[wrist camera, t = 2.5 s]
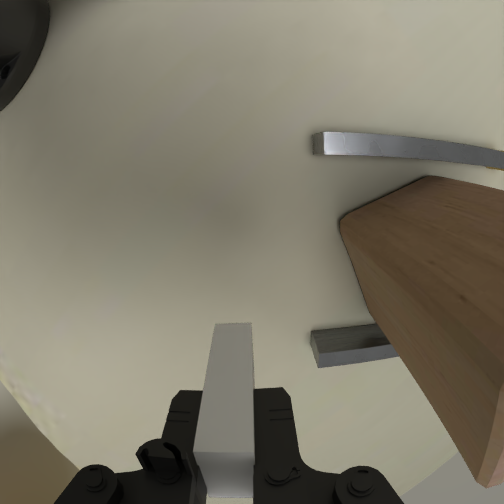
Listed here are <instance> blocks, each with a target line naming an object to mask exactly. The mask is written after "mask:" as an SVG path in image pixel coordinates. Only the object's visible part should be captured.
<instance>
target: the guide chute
mask: <svg viewBox="0 0 504 504" xmlns="http://www.w3.org/2000/svg"><path fill="white" fill-rule="evenodd" d="M312 136H313V154H322V155H367V156H388V157H403V158H417V159H428V160H439V161H448V162H457V163H466V164H473V165H481V166H486V168H491V169H497V170H503V171H504V151H499V150H492V149H487V148H482V147H477V146H471V145H465V144H459V143H453V142H446V141H439V140H431V139H423V138H415V137H405V136H394V135H382V134H368V133H349V132H321V133H317V134H314V135H312ZM311 347H312V350H313V354H314V357H315V360H316V363H317V366H318V368H323V367H332V366H340V365H347V364H355V363H362V362H368V361H375V360H381V359H387V358H392V357H398V356H399V355H398V353H397V352H396V350H395V349H394V347H393V346H392V344H391V343H390V341H389V340H388V339H387V337H386V336H385V334H384V333H383V331H382V330H381V328H380V327H379V326H378V324H372V325H364V326H356V327H347V328H337V329H327V330H317V331H311Z"/></svg>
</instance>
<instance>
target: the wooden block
mask: <svg viewBox="0 0 504 504" xmlns="http://www.w3.org/2000/svg"><path fill="white" fill-rule="evenodd" d="M340 233H341V235H342V238H343V240H344V243H345V245H346V248H347V251H348V253H349V256H350V259H351V261H352V264H353V267H354V269H355V272H356V275H357V278H358V281H359V283H360V286H361V289H362V292H363V295H364V298H365V301H366V304H367V307H368V310H369V313H370V314H371V316H372V317H373V319H374V320H375V321H376V323H377V324H378V326H379V327H380V328H381V330H382V331H383V333H384V334H385V336H386V337H387V339H388V340H389V341H390V343H391V344H392V346H393V347H394V349H395V350H396V352H397V353H398V355H399V356H400V358H401V359H402V361H403V362H404V364H405V365H406V367H407V368H408V370H409V371H410V373H411V374H412V376H413V377H414V379H415V380H416V382H417V383H418V385H419V386H420V388H421V390H422V391H423V393H424V394H425V396H426V397H427V399H428V401H429V402H430V404H431V405H432V407H433V409H434V410H435V412H436V413H437V415H438V417H439V418H440V420H441V422H442V423H443V425H444V426H445V428H446V430H447V431H448V433H449V435H450V436H451V438H452V440H453V442H454V443H455V445H456V447H457V448H458V450H459V452H460V453H461V455H462V457H463V458H464V461H465V462H466V464H467V466H468V468H469V469H470V471H471V473H472V475H473V477H474V479H475V480H476V482H477V483H479V484H481V485H482V486H484V487H485V488H489V487H492V486H495V485H498V484H501V483H502V482H504V191H503V190H499V189H495V188H491V187H487V186H482V185H478V184H473V183H469V182H464V181H459V180H455V179H449V178H444V177H439V176H427V177H425V178H422V179H420V180H418V181H416V182H414V183H412V184H410V185H408V186H406V187H404V188H401V189H399V190H397V191H395V192H393V193H391V194H389V195H387V196H385V197H383V198H380V199H378V200H376V201H374V202H372V203H370V204H368V205H366V206H364V207H361V208H359V209H357V210H355V211H353V212H351V213H349V214H347V215H346V216H345V217H344V218H343V219H342V220H340Z"/></svg>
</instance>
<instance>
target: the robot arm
mask: <svg viewBox="0 0 504 504" xmlns="http://www.w3.org/2000/svg"><path fill="white" fill-rule="evenodd" d="M48 25H49V5H48V1H47V0H0V110H1V109H3V108H4V107H5V106H6V105H7V104H8V103H9V102H10V101H11V100H12V98H13V97H14V96H15V95H16V94H17V92H18V91H19V90H20V88H21V87H22V85H23V84H24V82H25V81H26V79H27V78H28V76H29V74H30V73H31V71H32V69H33V67H34V65H35V63H36V61H37V59H38V57H39V54H40V52H41V49H42V47H43V44H44V41H45V38H46V34H47V30H48ZM136 456H137V458H138V460H139V462H140V464H141V465H142V467H143V469H141V470H137V471H132V472H123V473H114V472H113V471H112V470H111V469H109V468H108V467H107V466H103V465H99V464H96V465H89V466H86V467H84V468H82V469H81V470H80V471H79V472H78V473H77V474H76V475H75V477H74V478H73V479H72V481H71V482H70V483H69V485H68V486H67V487H66V488H65V490H64V491H63V492H62V493H61V495H60V496H59V497H58V499H57V500H56V501H55V503H54V504H206V495H207V493H208V496H209V497H217V498H253V504H404V503H403V502H402V500H401V499H400V497H399V496H398V495H397V493H396V492H395V491H394V489H393V488H392V486H391V485H390V484H389V482H388V481H387V480H386V478H385V477H384V475H383V474H381V473H380V472H379V471H378V470H377V469H374V468H372V467H369V466H356V467H352V468H349V469H347V470H346V471H344V472H342V473H341V474H335V473H326V472H321V471H316V470H314V469H312V468H310V467H309V466H307V465H306V464H305V463H304V462H303V460H302V459H301V456H300V453H299V447H298V441H297V435H296V428H295V422H294V416H293V411H292V404H291V398H290V396H289V395H288V393H287V392H286V391H285V390H284V388H283V387H279V388H262V389H255V382H254V360H253V343H252V325H251V323H228V324H215V327H214V333H213V338H212V344H211V349H210V355H209V360H208V366H207V371H206V377H205V383H204V388H203V391H195V390H180V391H179V392H178V393H177V394H176V396H175V397H174V398H173V399H172V401H171V405H170V408H169V413H168V415H167V419H166V423H165V426H164V430H163V434H162V437H161V439H153V440H151V441H148V442H146V443H144V444H143V445H142V446H140V447H139V449H138V451H137V452H136Z"/></svg>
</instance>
